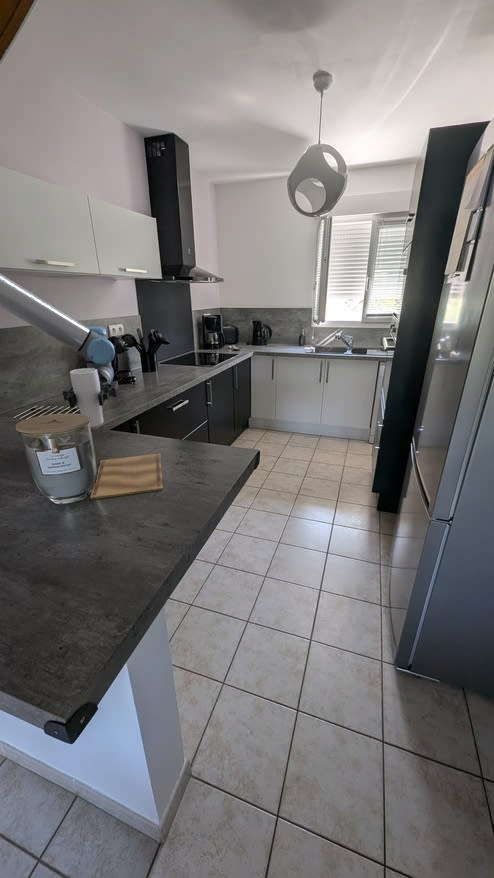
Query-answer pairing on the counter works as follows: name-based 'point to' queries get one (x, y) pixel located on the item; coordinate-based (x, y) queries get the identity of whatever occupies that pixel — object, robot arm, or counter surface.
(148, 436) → the counter surface
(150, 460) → the wooden cutting board
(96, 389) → the drinking glass
